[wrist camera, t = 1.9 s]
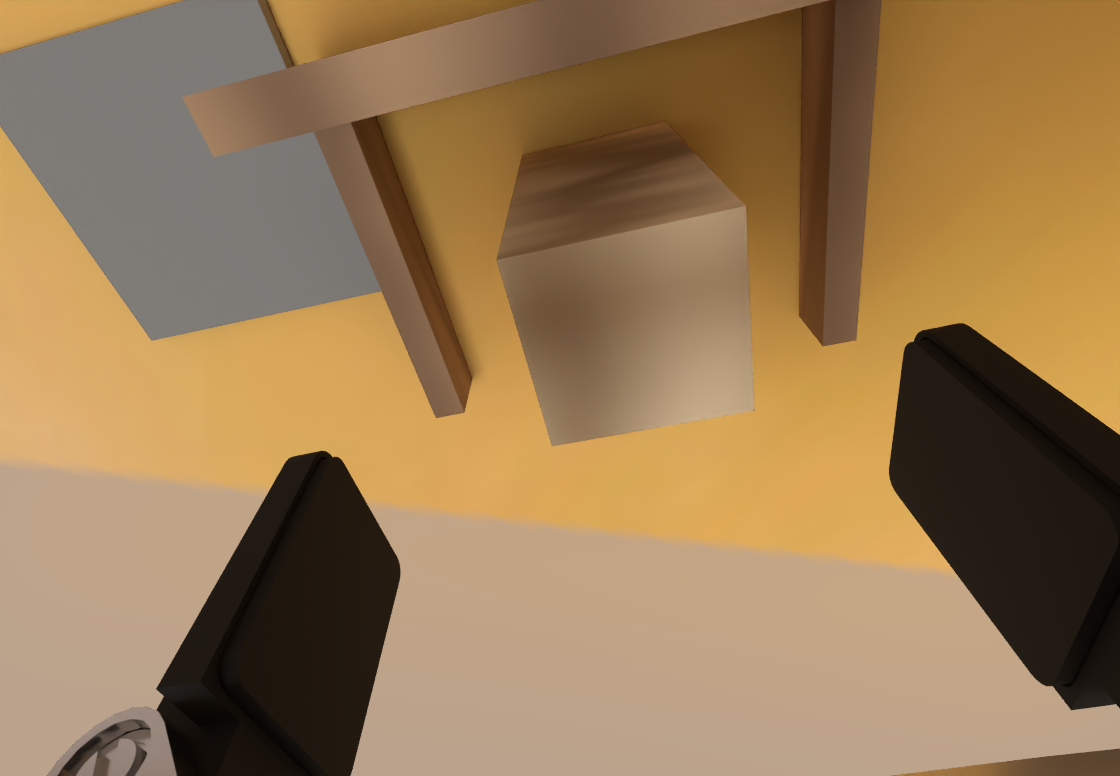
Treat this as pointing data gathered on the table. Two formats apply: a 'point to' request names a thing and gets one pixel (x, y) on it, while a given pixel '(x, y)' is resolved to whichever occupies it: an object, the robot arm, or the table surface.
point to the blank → (628, 285)
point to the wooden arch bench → (534, 48)
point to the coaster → (180, 169)
